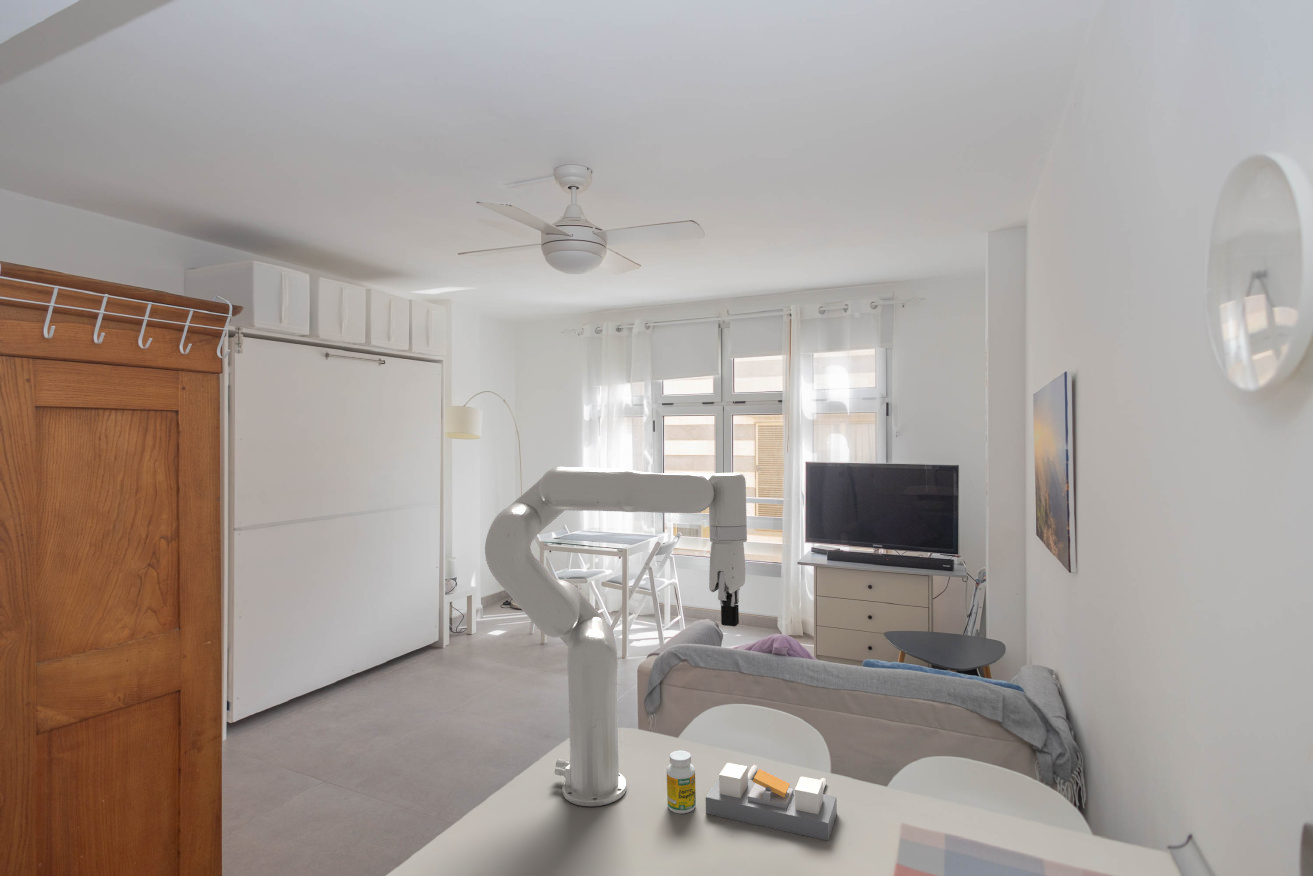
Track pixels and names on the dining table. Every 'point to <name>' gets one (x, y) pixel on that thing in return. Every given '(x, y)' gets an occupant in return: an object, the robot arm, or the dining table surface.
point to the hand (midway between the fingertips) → (730, 624)
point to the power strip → (773, 803)
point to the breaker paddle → (771, 783)
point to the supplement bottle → (681, 783)
